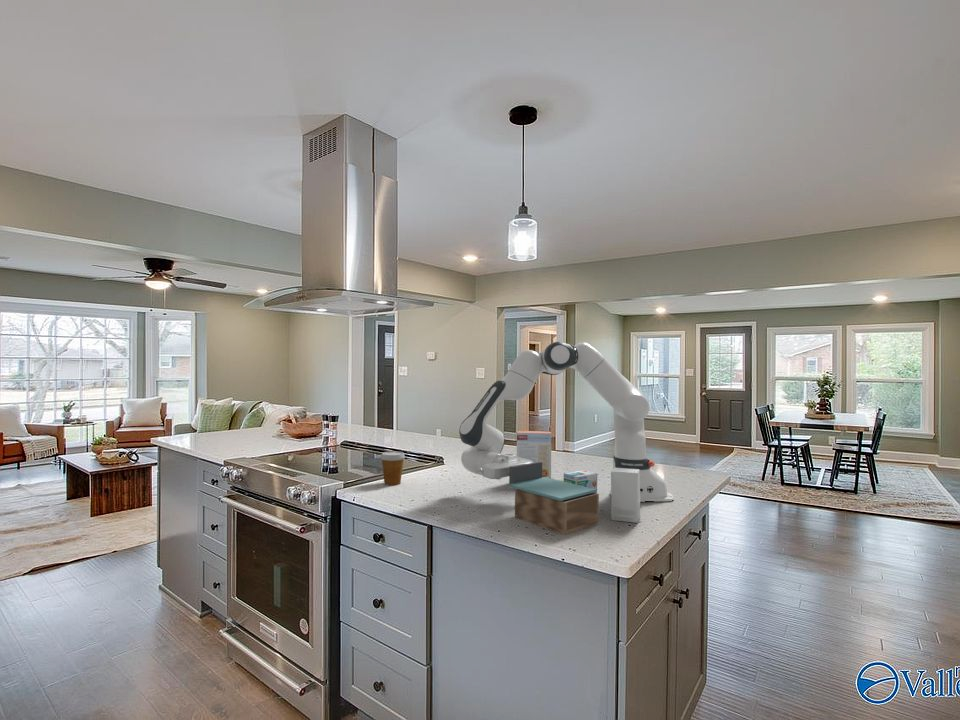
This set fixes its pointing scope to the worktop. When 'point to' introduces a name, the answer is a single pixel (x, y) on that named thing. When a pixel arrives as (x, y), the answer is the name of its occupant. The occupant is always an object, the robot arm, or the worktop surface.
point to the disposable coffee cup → (392, 467)
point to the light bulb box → (582, 478)
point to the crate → (557, 511)
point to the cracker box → (535, 448)
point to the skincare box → (625, 494)
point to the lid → (543, 483)
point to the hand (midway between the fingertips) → (524, 472)
